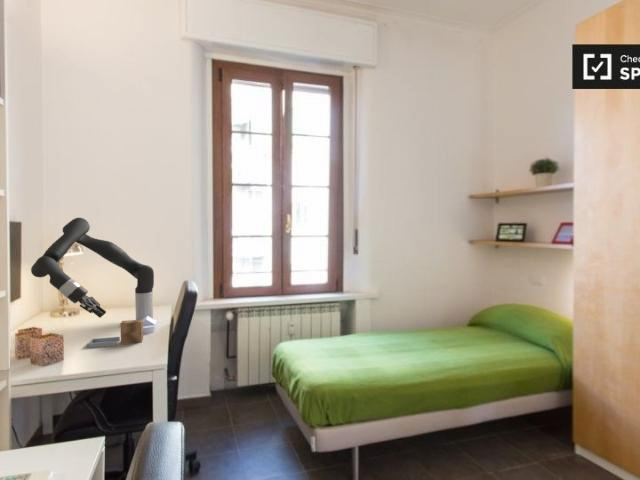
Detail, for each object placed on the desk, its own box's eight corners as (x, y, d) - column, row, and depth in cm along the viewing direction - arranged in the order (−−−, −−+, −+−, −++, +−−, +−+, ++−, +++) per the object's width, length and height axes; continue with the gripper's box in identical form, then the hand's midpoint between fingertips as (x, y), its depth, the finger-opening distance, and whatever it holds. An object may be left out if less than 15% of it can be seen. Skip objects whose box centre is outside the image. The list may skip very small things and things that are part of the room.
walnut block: (120, 344, 179) (120, 323, 178) (123, 341, 183) (122, 320, 183) (141, 342, 181) (141, 322, 181) (143, 339, 186) (142, 319, 186)
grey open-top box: (87, 348, 173) (87, 343, 173) (92, 342, 180) (91, 338, 180) (116, 345, 176) (116, 341, 176) (119, 340, 184) (119, 336, 184)
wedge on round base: (138, 328, 206) (135, 335, 194) (138, 316, 206) (135, 322, 193) (156, 327, 209) (154, 333, 197) (156, 315, 209) (154, 320, 196)
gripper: (72, 294, 180) (101, 317, 184) (61, 299, 166) (93, 324, 170) (84, 282, 181) (113, 306, 185) (74, 287, 168) (105, 312, 172)
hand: (103, 314), depth 178 cm, fingers open, 4 cm apart
